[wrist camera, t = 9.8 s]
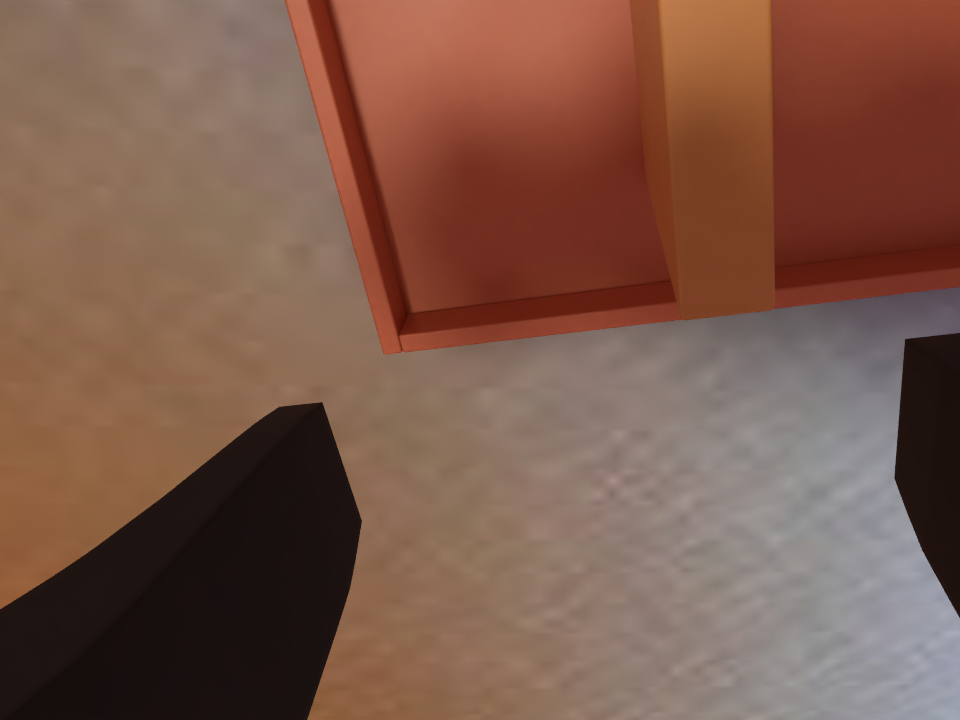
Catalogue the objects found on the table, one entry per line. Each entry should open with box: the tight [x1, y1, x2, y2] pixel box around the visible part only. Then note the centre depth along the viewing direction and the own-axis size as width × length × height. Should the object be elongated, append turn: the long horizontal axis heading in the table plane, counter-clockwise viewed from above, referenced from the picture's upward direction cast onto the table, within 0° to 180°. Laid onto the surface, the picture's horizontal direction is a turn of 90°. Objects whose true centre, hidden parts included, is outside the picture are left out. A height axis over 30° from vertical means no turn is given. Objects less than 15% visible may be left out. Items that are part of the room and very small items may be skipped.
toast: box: [630, 0, 775, 320], centre depth 14 cm, size 1×6×7 cm, turn 11°
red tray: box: [285, 0, 960, 354], centre depth 17 cm, size 15×12×2 cm
